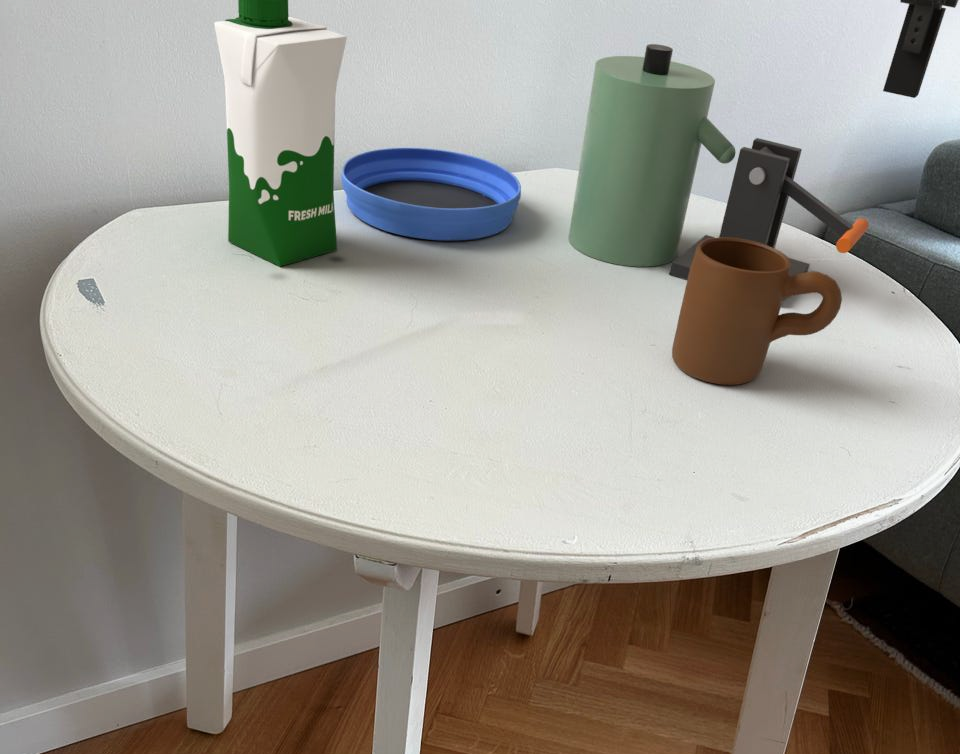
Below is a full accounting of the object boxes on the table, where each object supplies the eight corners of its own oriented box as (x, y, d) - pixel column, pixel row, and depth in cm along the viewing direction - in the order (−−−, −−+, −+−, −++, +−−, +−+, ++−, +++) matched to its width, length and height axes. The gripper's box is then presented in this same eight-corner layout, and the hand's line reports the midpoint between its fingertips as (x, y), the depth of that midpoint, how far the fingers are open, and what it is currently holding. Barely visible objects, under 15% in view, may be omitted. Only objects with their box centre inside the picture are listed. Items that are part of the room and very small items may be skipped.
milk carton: (286, 222, 107) (284, -16, 94) (352, 252, 103) (360, 8, 90) (213, 241, 101) (201, -9, 89) (280, 273, 97) (277, 16, 84)
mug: (816, 369, 94) (852, 259, 88) (811, 408, 88) (849, 293, 82) (676, 338, 95) (702, 229, 89) (662, 375, 90) (688, 260, 84)
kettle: (725, 254, 113) (773, 59, 101) (688, 286, 105) (736, 79, 94) (594, 217, 117) (627, 26, 106) (550, 245, 109) (579, 43, 98)
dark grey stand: (806, 275, 110) (843, 151, 103) (778, 306, 103) (815, 176, 96) (703, 246, 114) (731, 124, 106) (668, 274, 107) (696, 145, 99)
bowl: (328, 179, 118) (329, 144, 115) (493, 184, 122) (496, 150, 120) (355, 243, 104) (356, 205, 102) (538, 246, 109) (543, 209, 107)
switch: (858, 240, 105) (875, 218, 103) (840, 261, 100) (858, 239, 98) (757, 163, 106) (773, 140, 104) (734, 180, 101) (750, 156, 99)
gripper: (973, -266, 85) (873, 71, 100) (942, -278, 76) (838, 96, 90) (1075, -255, 83) (958, 89, 97) (1057, -265, 73) (930, 117, 88)
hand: (900, 92), depth 94 cm, fingers closed
